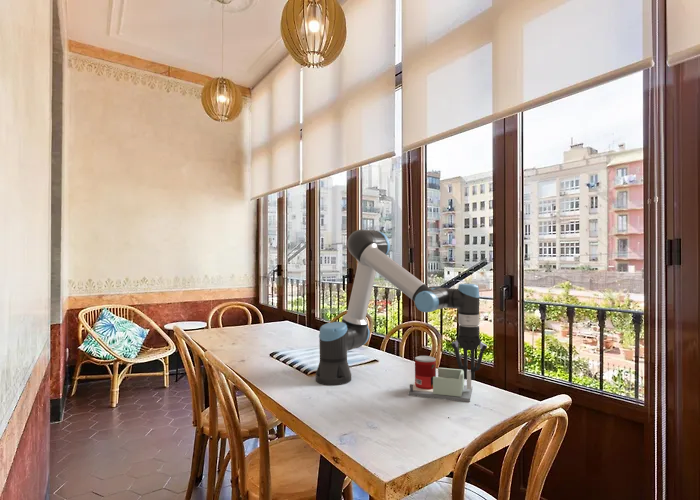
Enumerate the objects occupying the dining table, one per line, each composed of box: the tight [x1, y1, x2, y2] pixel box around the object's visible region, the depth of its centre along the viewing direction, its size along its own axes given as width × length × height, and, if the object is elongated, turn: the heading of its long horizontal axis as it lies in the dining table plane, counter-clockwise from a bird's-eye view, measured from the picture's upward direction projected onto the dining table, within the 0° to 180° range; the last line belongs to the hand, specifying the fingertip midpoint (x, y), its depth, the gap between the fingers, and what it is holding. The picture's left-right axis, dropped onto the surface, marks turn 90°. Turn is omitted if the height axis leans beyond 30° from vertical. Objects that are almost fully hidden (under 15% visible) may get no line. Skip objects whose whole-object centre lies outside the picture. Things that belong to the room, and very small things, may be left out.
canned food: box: [414, 355, 437, 389], centre depth 161 cm, size 8×8×11 cm
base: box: [408, 382, 473, 403], centre depth 158 cm, size 22×15×4 cm
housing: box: [433, 367, 465, 397], centre depth 157 cm, size 10×14×6 cm
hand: (469, 388), depth 155 cm, fingers closed
